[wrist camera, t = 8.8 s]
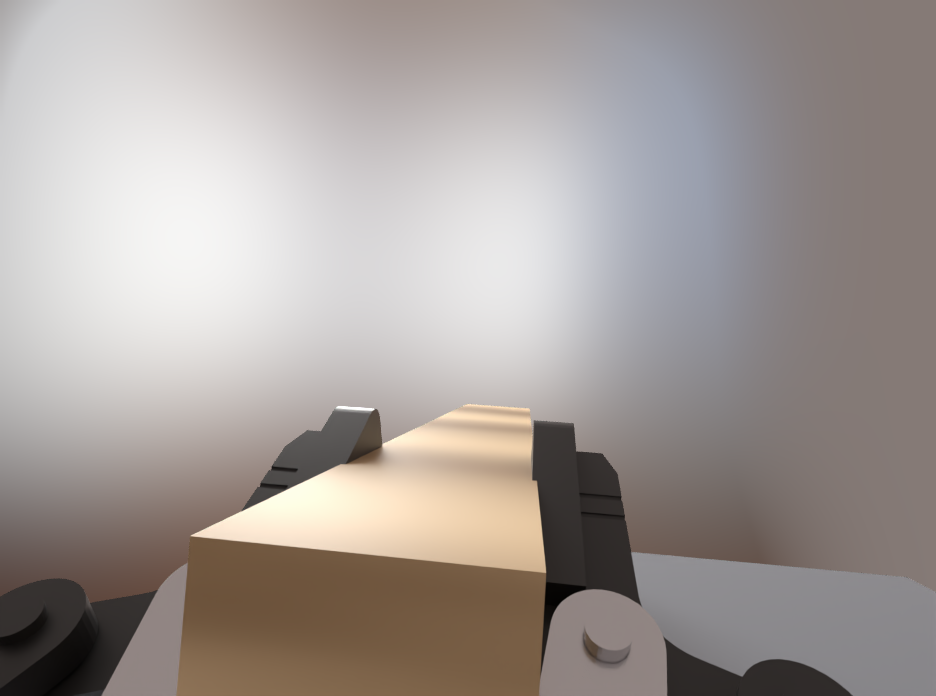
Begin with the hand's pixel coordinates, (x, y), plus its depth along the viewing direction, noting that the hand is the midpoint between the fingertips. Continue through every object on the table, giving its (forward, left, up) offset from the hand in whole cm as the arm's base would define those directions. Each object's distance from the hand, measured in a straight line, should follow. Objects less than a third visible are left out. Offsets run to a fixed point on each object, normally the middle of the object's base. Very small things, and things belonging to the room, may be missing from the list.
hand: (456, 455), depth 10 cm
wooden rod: (+4, +4, -3) cm, 6 cm away
